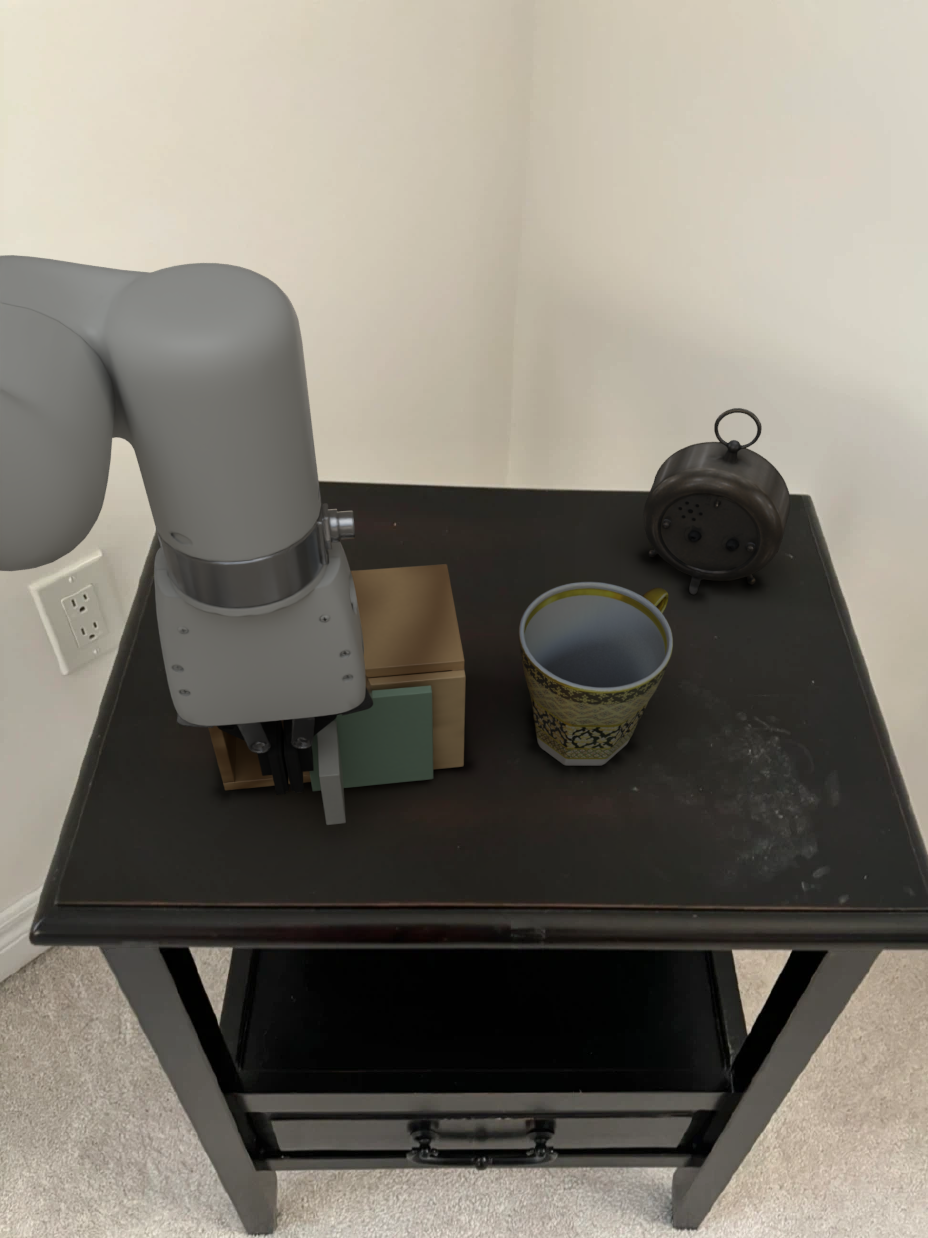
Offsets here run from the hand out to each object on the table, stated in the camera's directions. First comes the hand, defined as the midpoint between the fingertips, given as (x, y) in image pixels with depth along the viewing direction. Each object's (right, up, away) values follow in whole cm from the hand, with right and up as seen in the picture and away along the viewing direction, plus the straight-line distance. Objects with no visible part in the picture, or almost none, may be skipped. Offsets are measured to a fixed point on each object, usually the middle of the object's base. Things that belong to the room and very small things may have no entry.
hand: (289, 774), depth 62 cm
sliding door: (+5, -3, +5) cm, 7 cm away
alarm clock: (+29, +14, +23) cm, 40 cm away
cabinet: (+1, +2, +11) cm, 11 cm away
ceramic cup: (+19, +3, +12) cm, 23 cm away
